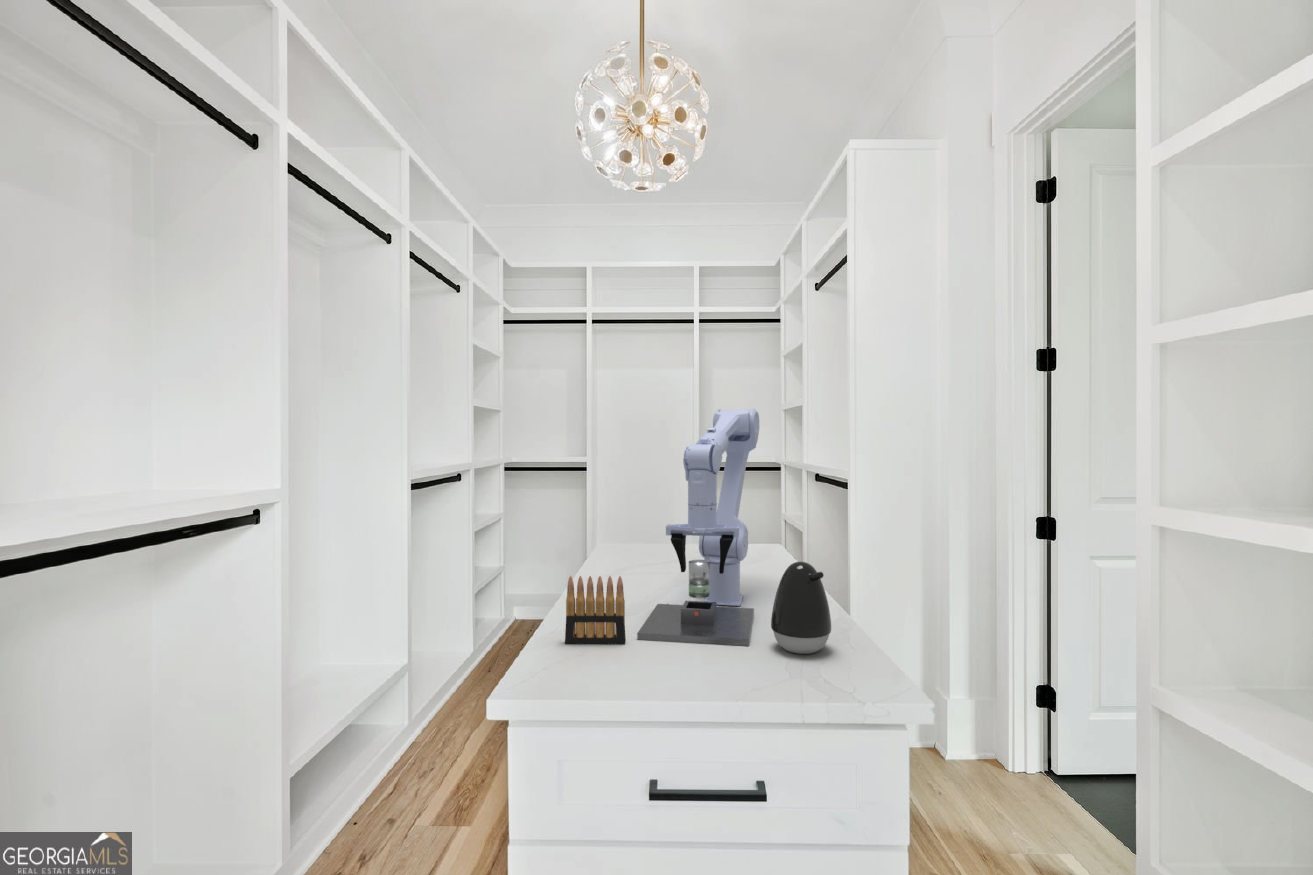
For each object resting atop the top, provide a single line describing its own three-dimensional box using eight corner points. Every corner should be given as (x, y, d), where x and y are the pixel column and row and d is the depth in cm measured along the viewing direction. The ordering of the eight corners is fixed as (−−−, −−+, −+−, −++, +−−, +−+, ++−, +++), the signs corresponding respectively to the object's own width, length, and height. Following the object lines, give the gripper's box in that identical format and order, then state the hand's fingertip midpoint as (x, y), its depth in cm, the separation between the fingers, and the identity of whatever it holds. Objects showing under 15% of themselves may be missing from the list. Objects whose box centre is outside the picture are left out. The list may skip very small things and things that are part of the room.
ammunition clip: (564, 644, 119) (564, 577, 119) (566, 641, 121) (566, 574, 121) (625, 644, 119) (625, 577, 119) (625, 641, 121) (625, 574, 121)
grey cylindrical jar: (690, 592, 132) (690, 559, 132) (710, 593, 131) (710, 559, 131) (687, 597, 128) (687, 563, 128) (708, 598, 127) (708, 564, 127)
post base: (657, 609, 141) (657, 590, 141) (753, 614, 138) (753, 594, 138) (637, 639, 122) (637, 617, 122) (748, 646, 118) (748, 623, 118)
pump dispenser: (797, 663, 109) (797, 570, 109) (759, 645, 119) (759, 559, 118) (845, 653, 114) (845, 564, 114) (804, 636, 123) (805, 553, 123)
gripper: (663, 505, 132) (663, 574, 132) (737, 507, 129) (737, 577, 129) (669, 501, 139) (669, 567, 139) (739, 502, 136) (739, 569, 136)
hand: (702, 571), depth 135 cm, fingers open, 7 cm apart
